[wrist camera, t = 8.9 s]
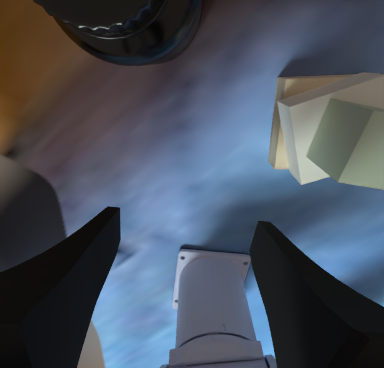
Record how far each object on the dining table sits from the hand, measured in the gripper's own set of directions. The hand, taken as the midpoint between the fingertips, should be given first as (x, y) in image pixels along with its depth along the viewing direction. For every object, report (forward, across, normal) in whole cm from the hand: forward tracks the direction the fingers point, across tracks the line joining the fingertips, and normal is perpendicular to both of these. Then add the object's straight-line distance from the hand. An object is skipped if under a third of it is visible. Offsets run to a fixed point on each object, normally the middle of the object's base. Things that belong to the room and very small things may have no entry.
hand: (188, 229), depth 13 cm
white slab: (+8, -10, -4) cm, 14 cm away
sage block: (+6, -10, -5) cm, 13 cm away
